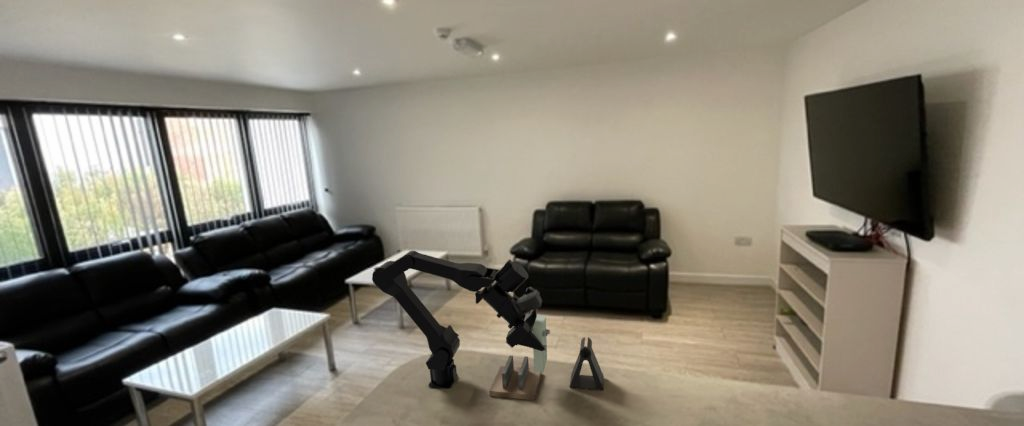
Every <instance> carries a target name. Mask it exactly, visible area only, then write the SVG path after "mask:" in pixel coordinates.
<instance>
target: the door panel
mask: <svg viewBox="0 0 1024 426" xmlns="http://www.w3.org/2000/svg"><path fill="white" fill-rule="evenodd" d="M550 331H551V330H550V329H547V316H544V315H543V316H542V315H537V318H536V320H535V323H534V326H533V334H534V335H535V336H536V338H537V339H538V340H539V341H540V342H541V343H542V345H543V346H544V347H545V349H544V350H543V351H539V350H536V349H533V348H532V350H533V351H532V352H533V369H534V372H541V374H543V373H544V371H545V367H546V364H547V360H548V345H547V344H548V343H547V341H548V340H547V336H546V334H548V335H550V333H551V332H550Z"/></svg>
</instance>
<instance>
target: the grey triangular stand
mask: <svg viewBox="0 0 1024 426" xmlns="http://www.w3.org/2000/svg"><path fill="white" fill-rule="evenodd" d="M585 342H586V337H582V338H581V340H580V349H579V353H578V356H577V359H576V361H575V363H574V365H573V368H572V372H571V374H570V380H569V382H570V383H569V389H575V390H577V389H578V390H591V391H604V386H605V385H604V383H605V382H604V381H605V377H604V373H603V372H602V370H601V366H600V364H599V362H598V359H597V357H596V354H595V352H594V349H593V341H592V338H590V337H587V342H586V343H587V345H586V346H585ZM584 361H587V363H588V365H589V368H590V371H591V374H592V375H586V374H585V375H584V374H581V371H582V367H583V364H584ZM576 388H577V389H576Z"/></svg>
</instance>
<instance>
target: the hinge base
mask: <svg viewBox="0 0 1024 426" xmlns="http://www.w3.org/2000/svg"><path fill="white" fill-rule="evenodd" d="M541 377H542V373H541V372H534V367H531V368H530V367H529V357H528V356H524V357H523V360H522V363H521V366H520V367H516V366H514V355H509V356H508V358H507V360H506V362H505V365H501V366H500V367H499V368H498V371H497V374H496V375H495V378H494V381H492V382H493V383H492V384H491V387H490V388H489V392H488V393H489V396H490V397H498V398H508V399H509V398H510V399H518V400H519V399H520V400H528V401H535V399H536V394H537V391H538V388H539V383H540V380H541Z"/></svg>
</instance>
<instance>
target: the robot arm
mask: <svg viewBox="0 0 1024 426" xmlns="http://www.w3.org/2000/svg"><path fill="white" fill-rule="evenodd" d="M408 270H414V271H418V272H421V273H426V274H429V275H433V276H436V277H440V278H442V279H447V280H451V281H452V282H454V283H455V284H456V285H458V286H459V287H460V288H463V289H465V290H466V291H469V292H472V293H475V294H474V295H475V304H477V305H478V304H479V303H481V301H482V300H483V301H485V303H486V304H487V305H489V306H490V308H492V309H493V310H494V311H495V312H496V313H497V314H496V317H497V319H500V318H502V319H503V320H504V321H505V322H507V323H508V325H507V328H508V329H509V331H508V332H507V334H506V337H505V343H506V344H507V345H508V346H509V347H510V348H511V349H513V348H514V347H515V346H523V347H527V348H529V349H532V350H533V349H536V350H539V351H543V350H544V349H545V347H544V346H543V345H542V343H541V342H540V341H539V340H538V339H537V338H536V336H535V335H534V334H533V326H534V323H535V320H536V318H537V316H538V309H539V308H541V307H542V303H543V300H542V297H541V295H540V294H541V292H540V291H539V290H538V289H535V288H534V287H532V286H529V287H527V288H526V290H525V293H524V294H523V295H522V296H521V297H519V296H517V295H515V294H513V295H511V294H510V292H511V293H515V291H516V290H517V289H518V288H519V287H520V286H522V284H524V282H525V281H526V280H528V278H529V273H528V272H527V270H526V269H525V268H524V267H523V266H522V264H519V263H517V262H515V261H513V260H511V258H510V259H508V260H507V261H506V262H505V264H504V265H502V267H501V268H500V269H498V268H497V269H496V268H490V267H486V266H485V265H483V264H482V263H481V264H480V263H474V262H463V263H461V262H460V263H458V262H453V261H449V260H446V259H443V258H439V257H435V256H431V255H427V254H424V253H422V252H421V253H420V252H419V251H416V250H409V251H408V252H407V253H405V254H404V255H402V256H401V257H399V258H397V259H396V260H395V261H394V260H388V261H386V262H384V263H383V264H381V265H380V266H378V267H377V268H375V270H374V271H372V274H371V275H372V277H371V281H372V283H373V284H374V286H375V287H377V288H378V289H379V290H380V291H381V292H382V293H384V294H386V295H389V296H391V297H393V299H395V300H396V302H397V303H398V304H399V305H400V306H401V308H402V309H403V310H404V311H405V313H406V315H408V316H409V318H410V319H411V320H412V322H414V324H415V325H416V326H417V327H418V329H419V330H420V331H421V332H422V334H423V335H424V336H425V337H426V341H427V345H428V348H429V351H430V352H431V354H430V355H429V357H428V358H427V360H426V362H425V365H426V367H427V368H428V370H429V373H430V374H429V375H430V376H429V377H430V381H429V383H428V388H438V389H439V388H441V389H451V388H452V386H453V384H454V383H455V382H456V380H457V378H458V373H457V371H458V370H457V365H456V364H455V359H454V356H455V354H456V353H457V351H458V350H459V348H460V345H461V340H460V338H459V336H460V335H459V334H458V333H457V332H456V331H455V330H454V328H453V326H451V325H450V324H449V325H447V327H446V326H443V325H442V324H440V323H439V322H438V321H437V320H436V318H435V317H434V316H433V315H432V313H431V311H430V310H429V309H428V308H427V307H426V306H425V304H424V303H423V302H422V300H420V298H419V297H418V296H417V295H416V293H415V292H414V291H413V290H412V288H411V287H410V286H409V283H408V280H407V275H406V273H405V272H407V271H408ZM548 335H549V334H546V337H547V336H548Z"/></svg>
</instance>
